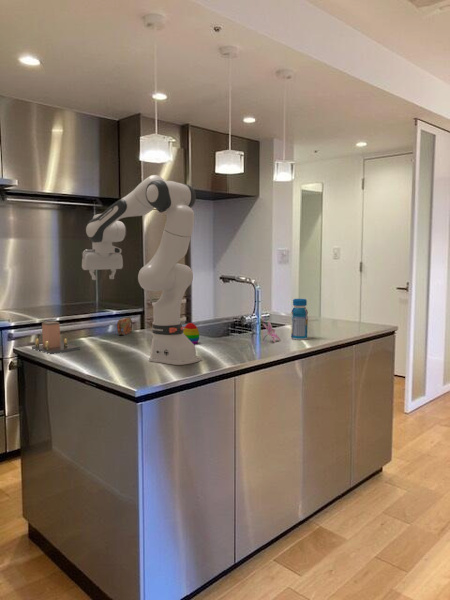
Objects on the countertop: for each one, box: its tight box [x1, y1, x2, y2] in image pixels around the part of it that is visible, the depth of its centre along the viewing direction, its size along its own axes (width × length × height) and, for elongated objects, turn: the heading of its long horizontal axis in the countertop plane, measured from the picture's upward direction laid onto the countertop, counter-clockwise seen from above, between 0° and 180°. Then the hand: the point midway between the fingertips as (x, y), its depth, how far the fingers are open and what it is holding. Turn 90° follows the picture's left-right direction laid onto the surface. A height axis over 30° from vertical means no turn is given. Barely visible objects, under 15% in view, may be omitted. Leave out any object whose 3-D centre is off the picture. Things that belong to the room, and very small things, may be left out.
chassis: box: [31, 337, 81, 355], centre depth 218 cm, size 17×14×5 cm
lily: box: [262, 320, 282, 344], centre depth 236 cm, size 12×12×10 cm
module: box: [41, 320, 61, 348], centre depth 218 cm, size 6×6×11 cm
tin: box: [116, 317, 133, 336], centre depth 259 cm, size 15×3×8 cm, turn 168°
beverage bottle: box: [290, 298, 309, 341], centre depth 242 cm, size 8×8×20 cm
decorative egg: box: [183, 322, 200, 345], centre depth 231 cm, size 8×8×10 cm
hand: (103, 279), depth 224 cm, fingers open, 8 cm apart
